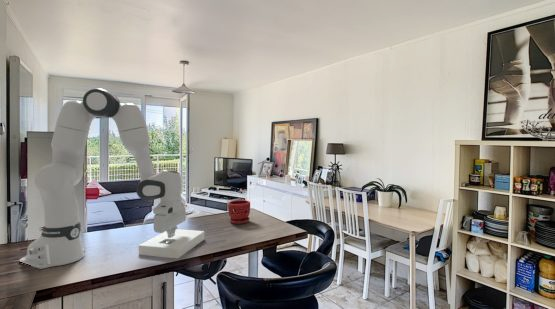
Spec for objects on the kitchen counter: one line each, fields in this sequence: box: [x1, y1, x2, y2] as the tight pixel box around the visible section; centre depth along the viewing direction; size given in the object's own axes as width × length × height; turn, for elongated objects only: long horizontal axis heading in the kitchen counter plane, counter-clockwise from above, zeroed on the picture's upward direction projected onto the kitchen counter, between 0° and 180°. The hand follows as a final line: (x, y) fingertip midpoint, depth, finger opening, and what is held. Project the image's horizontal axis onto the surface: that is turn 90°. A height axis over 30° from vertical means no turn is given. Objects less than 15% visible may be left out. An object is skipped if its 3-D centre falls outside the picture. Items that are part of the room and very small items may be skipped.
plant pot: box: [227, 199, 251, 225], centre depth 174 cm, size 13×13×12 cm
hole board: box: [138, 228, 205, 259], centre depth 133 cm, size 18×24×4 cm
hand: (171, 236), depth 131 cm, fingers closed
